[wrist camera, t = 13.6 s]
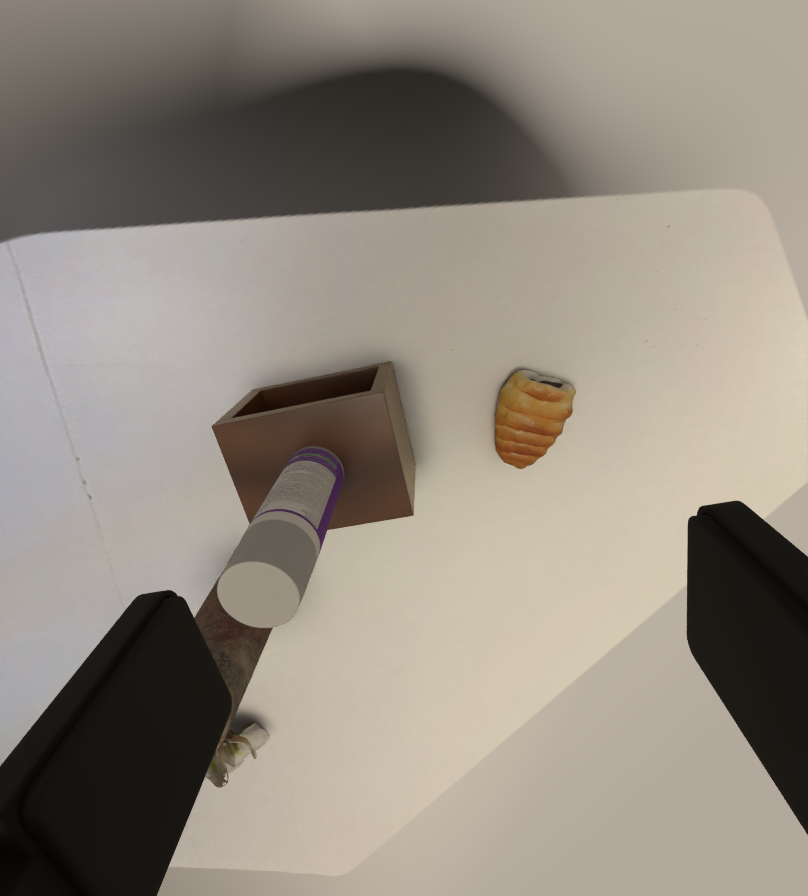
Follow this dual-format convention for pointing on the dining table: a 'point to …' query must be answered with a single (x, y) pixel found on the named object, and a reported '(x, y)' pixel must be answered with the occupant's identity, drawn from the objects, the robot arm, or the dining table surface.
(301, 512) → the container
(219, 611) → the brown rounded bar
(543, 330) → the dining table surface
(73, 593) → the dining table surface
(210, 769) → the artificial flower
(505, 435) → the pastry
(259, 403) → the shelf
